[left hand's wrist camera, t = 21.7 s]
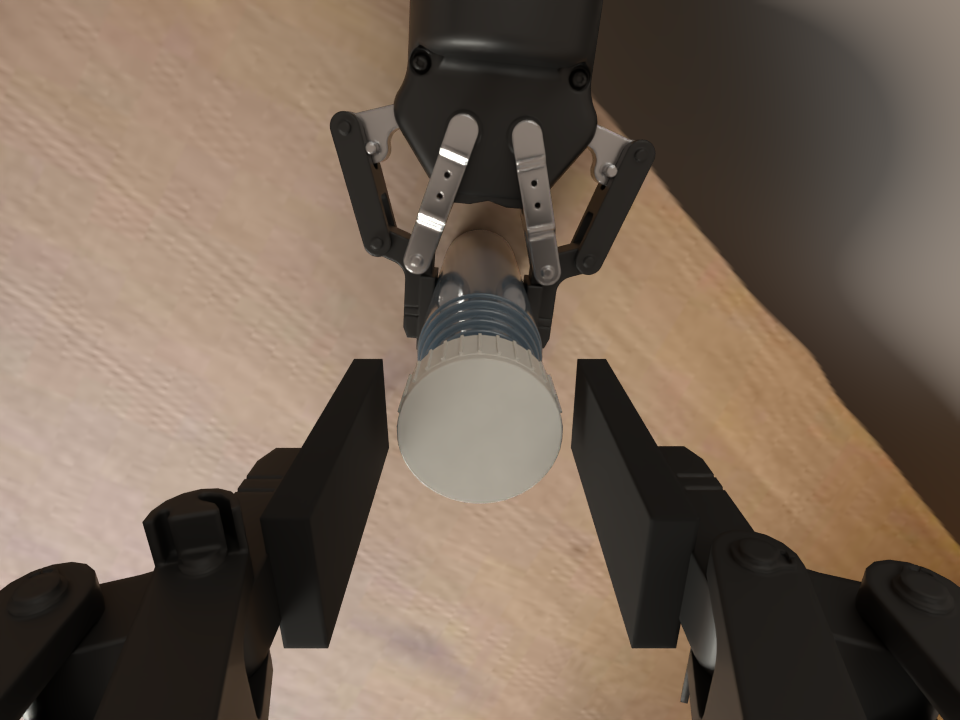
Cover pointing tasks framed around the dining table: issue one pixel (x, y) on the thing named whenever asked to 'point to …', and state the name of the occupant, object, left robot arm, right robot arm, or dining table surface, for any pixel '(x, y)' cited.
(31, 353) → the dining table surface
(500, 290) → the bottle
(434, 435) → the cap
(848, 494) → the dining table surface
